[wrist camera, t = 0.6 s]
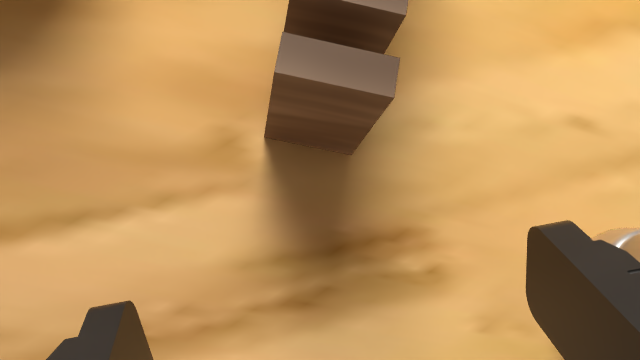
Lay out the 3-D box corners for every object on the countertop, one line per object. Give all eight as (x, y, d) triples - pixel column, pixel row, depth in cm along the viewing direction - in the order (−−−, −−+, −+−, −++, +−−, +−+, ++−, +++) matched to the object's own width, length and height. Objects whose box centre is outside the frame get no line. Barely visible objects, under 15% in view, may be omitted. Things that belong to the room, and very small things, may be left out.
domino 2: (351, 154, 32) (394, 97, 23) (263, 137, 31) (274, 71, 23) (356, 125, 32) (399, 58, 24) (270, 107, 32) (282, 31, 23)
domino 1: (361, 93, 33) (406, 14, 24) (276, 75, 32) (291, -12, 24) (365, 65, 33) (411, -22, 25) (282, 46, 33) (298, -49, 24)
